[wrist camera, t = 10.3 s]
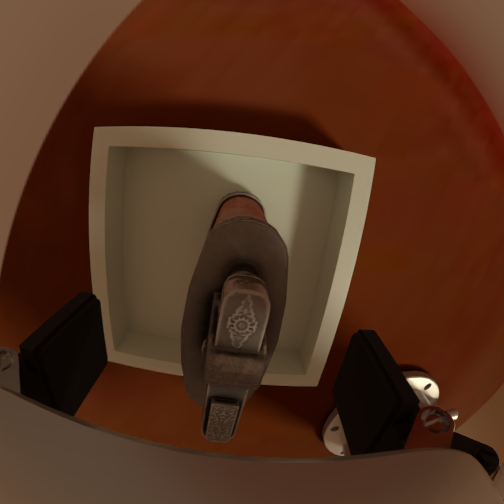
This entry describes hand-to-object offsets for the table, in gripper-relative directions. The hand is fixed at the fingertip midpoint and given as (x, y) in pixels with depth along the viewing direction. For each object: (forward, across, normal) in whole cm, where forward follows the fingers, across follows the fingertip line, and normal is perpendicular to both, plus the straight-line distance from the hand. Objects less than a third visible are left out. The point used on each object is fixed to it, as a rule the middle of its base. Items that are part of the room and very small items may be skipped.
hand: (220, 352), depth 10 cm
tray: (+9, +1, -1) cm, 9 cm away
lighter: (+8, 0, -1) cm, 8 cm away
